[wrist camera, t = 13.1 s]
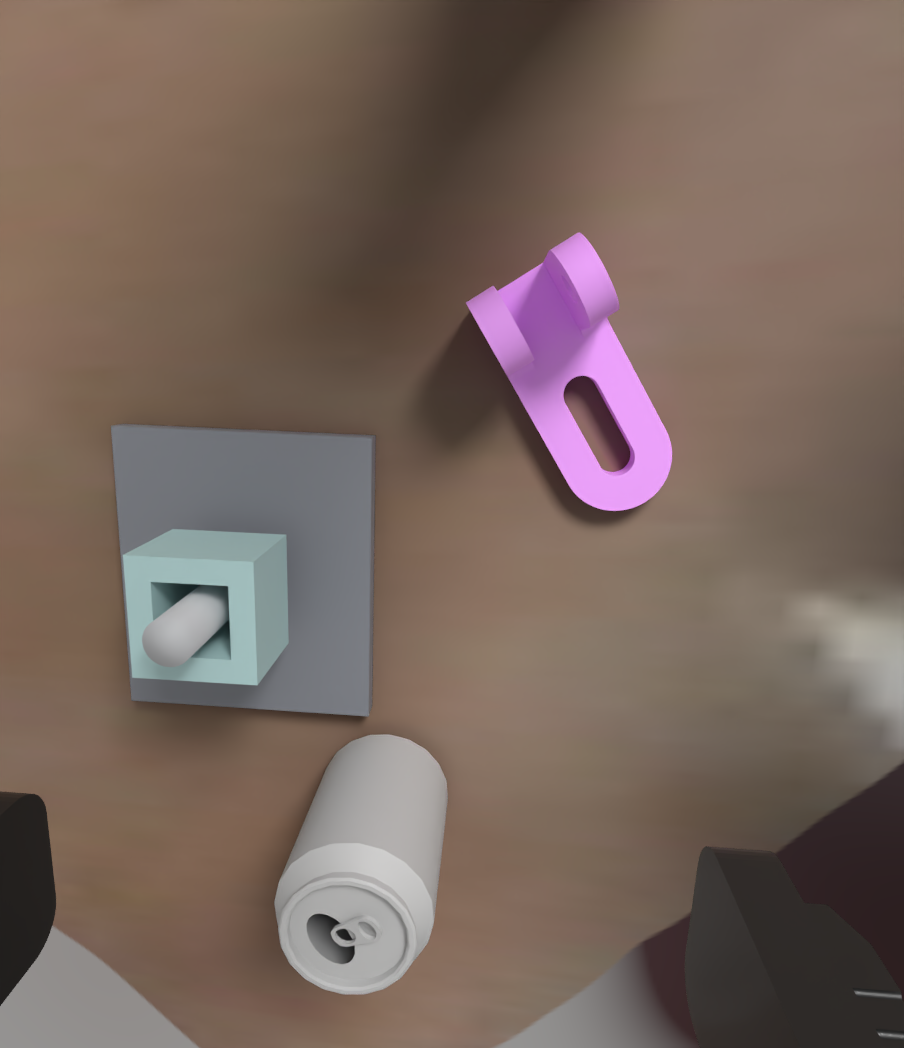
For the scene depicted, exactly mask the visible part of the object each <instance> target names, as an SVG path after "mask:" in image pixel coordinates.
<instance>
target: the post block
mask: <svg viewBox="0 0 904 1048" xmlns="http://www.w3.org/2000/svg"><path fill="white" fill-rule="evenodd" d="M111 433H112V446H113V460H114V473H115V486H116V500H117V513H118V527H119V540H120V553H121V567H122V580H123V593H124V607H125V620H126V634H127V647H128V660H129V674H130V687H131V700H132V701H147V702H162V703H177V704H191V705H206V706H221V707H236V708H251V709H266V710H281V711H296V712H311V713H326V714H341V715H356V716H369V714H370V711H371V708H372V678H373V601H374V523H375V446H376V435H356V434H334V433H312V432H290V431H268V430H246V429H224V428H202V427H180V426H158V425H136V424H119V425H113V426H111ZM172 529H184V530H204V531H224V532H244V533H264V534H284V535H286V539H287V587H288V636H289V643H288V645H287V646H286V647H285V649H284V650H283V651H282V653H281V654H280V655H279V657H278V658H277V660H276V661H275V662H274V664H273V665H272V666H271V668H270V669H269V670H268V672H267V673H266V674H265V676H264V677H263V679H262V680H261V681H260V683H259V684H258V685H243V684H227V683H211V682H194V681H178V680H162V679H146V678H132V668H131V655H130V642H129V629H128V616H127V603H126V590H125V577H124V564H123V555H124V554H126V553H128V552H130V551H132V550H134V549H135V548H137V547H139V546H141V545H143V544H145V543H147V542H149V541H151V540H153V539H155V538H157V537H158V536H160V535H162V534H164V533H166V532H168V531H170V530H172ZM229 619H230V618H229V594H228V586H217V585H199V584H198V587H197V588H196V589H195V590H193V591H192V592H191V593H189V594H188V595H187V596H185V597H184V598H183V599H181V600H180V601H179V602H178V603H176V604H175V605H174V606H172V607H171V608H170V609H168V610H167V611H166V612H164V613H163V614H162V615H160V616H159V617H158V618H156V619H155V620H154V621H153V622H151V623H150V624H149V625H148V626H147V627H146V628H145V630H144V632H143V636H142V644H143V648H144V651H145V652H146V654H147V655H148V657H149V658H150V659H151V660H152V661H154V662H155V663H157V664H159V665H161V666H165V667H176V666H179V665H182V664H183V663H185V662H186V661H187V660H188V659H189V658H190V657H191V656H192V655H193V654H194V653H195V652H196V651H197V650H198V649H199V648H200V647H201V646H203V645H204V644H205V643H206V642H207V641H208V640H209V639H210V638H211V637H212V636H213V635H214V634H215V633H216V632H217V631H218V630H219V629H220V628H221V627H222V626H223V625H224V624H225V623H226V622H227V621H228V620H229Z"/></svg>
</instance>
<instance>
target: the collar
mask: <svg viewBox="0 0 904 1048" xmlns="http://www.w3.org/2000/svg"><path fill="white" fill-rule="evenodd" d="M123 564H124V577H125V590H126V603H127V616H128V629H129V642H130V655H131V668H132V678H146V679H162V680H178V681H194V682H211V683H227V684H243V685H258V684H259V683H260V681H261V680H262V679H263V677H264V676H265V674H266V673H267V672H268V670H269V669H270V668H271V666H272V665H273V664H274V662H275V661H276V660H277V658H278V657H279V655H280V654H281V653H282V651H283V650H284V649H285V647H286V646H287V645H288V643H289V636H288V587H287V539H286V535H284V534H264V533H244V532H224V531H204V530H184V529H172V530H170V531H168V532H166V533H164V534H162V535H160V536H158V537H157V538H155V539H153V540H151V541H149V542H147V543H145V544H143V545H141V546H139V547H137V548H135V549H134V550H132V551H130V552H128V553H126V554H124V555H123ZM198 584H199V585H217V586H228V594H229V618H230V619H229V620H228V621H227V622H226V623H225V624H224V625H223V626H222V627H221V628H220V629H219V630H218V631H217V632H216V633H215V634H214V635H213V636H212V637H211V638H210V639H209V640H208V641H207V642H206V643H205V644H204V645H203V646H201V647H200V648H199V649H198V650H197V651H196V652H195V653H194V654H193V655H192V656H191V657H190V658H189V659H188V660H187V661H186V662H185V663H183V664H182V665H179V666H176V667H165V666H161V665H159V664H157V663H155V662H154V661H152V660H151V659H150V658H149V657H148V655H147V654H146V652H145V651H144V648H143V644H142V636H143V632H144V630H145V628H146V627H147V626H148V625H149V624H150V623H151V622H153V621H154V620H155V619H156V618H158V617H159V616H160V615H162V614H163V613H164V612H166V611H167V610H168V609H170V608H171V607H172V606H174V605H175V604H176V603H178V602H179V601H180V600H181V599H183V598H184V597H185V596H187V595H188V594H189V593H191V592H192V591H193V590H195V589H196V588H197V587H198Z"/></svg>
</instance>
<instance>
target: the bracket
mask: <svg viewBox="0 0 904 1048" xmlns="http://www.w3.org/2000/svg"><path fill="white" fill-rule="evenodd" d="M466 304H467V306H468V308H469V309H470V311H471V313H472V315H473V317H474V318H475V320H476V322H477V324H478V325H479V327H480V329H481V331H482V332H483V334H484V336H485V338H486V340H487V341H488V343H489V345H490V347H491V348H492V350H493V352H494V354H495V356H496V357H497V359H498V361H499V363H500V364H501V366H502V368H503V370H504V371H505V373H506V375H507V377H508V378H509V380H510V382H511V384H512V386H513V387H514V389H515V391H516V393H517V394H518V396H519V398H520V400H521V401H522V403H523V405H524V407H525V409H526V410H527V412H528V414H529V416H530V417H531V419H532V421H533V423H534V424H535V426H536V428H537V430H538V432H539V433H540V435H541V437H542V439H543V440H544V442H545V444H546V446H547V448H548V449H549V451H550V453H551V455H552V456H553V458H554V460H555V462H556V463H557V465H558V467H559V469H560V471H561V472H562V474H563V476H564V478H565V479H566V481H567V483H568V485H569V486H570V488H571V489H572V491H573V492H574V493H575V494H576V495H577V496H578V497H579V498H580V499H581V500H583V501H584V502H585V503H587V504H589V505H591V506H593V507H596V508H598V509H602V510H608V511H621V510H627V509H631V508H634V507H636V506H639V505H641V504H643V503H644V502H646V501H647V500H649V499H650V498H651V497H652V496H654V495H655V494H656V493H657V492H658V490H659V489H660V488H661V487H662V485H663V484H664V482H665V480H666V478H667V476H668V473H669V471H670V467H671V461H672V448H671V442H670V439H669V436H668V434H667V431H666V429H665V427H664V426H663V424H662V422H661V420H660V418H659V416H658V414H657V412H656V410H655V409H654V407H653V405H652V403H651V401H650V399H649V397H648V395H647V393H646V392H645V390H644V388H643V386H642V384H641V382H640V380H639V378H638V376H637V375H636V373H635V371H634V369H633V367H632V365H631V363H630V361H629V359H628V358H627V356H626V354H625V352H624V350H623V348H622V346H621V344H620V342H619V341H618V339H617V337H616V335H615V333H614V331H613V329H612V327H611V325H610V323H609V321H608V319H607V317H608V316H609V315H611V314H613V313H614V312H616V311H618V310H619V302H618V298H617V295H616V292H615V289H614V287H613V284H612V282H611V280H610V277H609V275H608V273H607V271H606V269H605V267H604V265H603V264H602V262H601V260H600V258H599V256H598V255H597V253H596V251H595V250H594V248H593V247H592V245H591V244H590V243H589V241H588V240H587V239H586V238H585V236H584V235H582V234H581V233H579V232H578V233H576V234H575V235H573V236H572V237H570V238H568V239H567V240H565V241H564V242H562V243H560V244H559V245H557V246H556V247H554V248H552V249H551V250H549V252H548V254H547V256H546V258H545V260H544V262H543V263H542V264H540V265H539V266H537V267H535V268H534V269H532V270H531V271H529V272H527V273H526V274H524V275H523V276H521V277H519V278H518V279H516V280H515V281H513V282H511V283H510V284H508V285H507V286H505V287H503V288H502V289H500V290H499V291H497V290H496V288H495V287H494V286H492V287H490V288H488V289H487V290H485V291H484V292H482V293H480V294H479V295H477V296H476V297H474V298H472V299H471V300H469V301H468V302H466ZM577 376H587V377H589V378H590V379H591V380H592V381H593V382H594V383H595V385H596V387H597V389H598V391H599V392H600V394H601V396H602V398H603V400H604V402H605V403H606V405H607V407H608V409H609V411H610V413H611V415H612V416H613V418H614V420H615V422H616V424H617V426H618V427H619V429H620V431H621V433H622V435H623V437H624V439H625V440H626V442H627V444H628V446H629V448H630V459H629V462H628V463H627V465H626V466H625V467H624V468H623V469H621V470H619V471H616V472H608V471H605V470H603V469H602V468H601V467H600V465H599V463H598V462H597V460H596V458H595V456H594V454H593V453H592V451H591V449H590V447H589V445H588V444H587V442H586V440H585V438H584V436H583V434H582V433H581V431H580V429H579V427H578V425H577V424H576V422H575V420H574V418H573V416H572V415H571V413H570V411H569V409H568V407H567V406H566V404H565V401H564V397H563V393H564V389H565V386H566V385H567V383H568V382H569V381H570V380H571V379H573V378H575V377H577Z"/></svg>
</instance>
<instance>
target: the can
mask: <svg viewBox="0 0 904 1048" xmlns="http://www.w3.org/2000/svg"><path fill="white" fill-rule="evenodd" d="M447 801H448V794H447V782H446V778H445V776H444V774H443V772H442V770H441V767H440V765H439V763H438V762H437V761H436V760H435V759H434V758H433V757H432V756H431V755H430V753H429V752H428V751H427V750H426V749H424V748H422V747H421V746H419V745H417V744H416V743H414V742H412V741H411V740H409V739H405V738H402V737H398V736H394V735H390V734H385V735H368V736H365V737H362V738H359V739H356V740H353V741H351V742H350V743H348V744H347V745H346V746H344V747H343V748H342V749H340V750H339V751H338V752H337V753H336V754H335V756H334V757H333V759H332V760H331V762H330V763H329V765H328V766H327V768H326V771H325V773H324V775H323V778H322V780H321V783H320V785H319V787H318V790H317V792H316V795H315V797H314V799H313V802H312V804H311V807H310V809H309V811H308V814H307V816H306V819H305V821H304V823H303V826H302V828H301V830H300V833H299V835H298V838H297V840H296V842H295V845H294V847H293V850H292V852H291V854H290V857H289V859H288V862H287V864H286V866H285V869H284V871H283V874H282V876H281V878H280V881H279V884H278V888H277V893H276V897H275V902H274V904H275V910H276V917H277V924H278V926H279V927H278V931H279V938H280V945H281V948H282V950H283V952H284V954H285V956H286V958H287V960H288V961H289V963H290V965H291V966H292V967H293V968H294V969H295V970H296V971H297V972H298V973H299V974H300V975H301V976H302V977H303V978H304V979H306V980H308V981H310V982H312V983H313V984H315V985H317V986H319V987H320V988H322V989H325V990H329V991H333V992H336V993H340V994H368V993H371V992H375V991H378V990H382V989H385V988H386V987H388V986H389V985H391V984H393V983H394V982H396V981H397V980H399V979H400V978H401V977H402V976H403V975H404V973H405V972H406V971H407V969H408V968H409V967H410V965H411V964H412V962H413V961H414V960H415V959H416V958H417V956H418V955H419V954H420V952H421V951H422V950H423V948H424V947H425V946H426V944H427V943H428V941H429V937H430V934H431V930H432V927H433V924H434V916H435V908H436V899H437V890H438V881H439V872H440V863H441V854H442V845H443V837H444V828H445V819H446V810H447Z"/></svg>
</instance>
